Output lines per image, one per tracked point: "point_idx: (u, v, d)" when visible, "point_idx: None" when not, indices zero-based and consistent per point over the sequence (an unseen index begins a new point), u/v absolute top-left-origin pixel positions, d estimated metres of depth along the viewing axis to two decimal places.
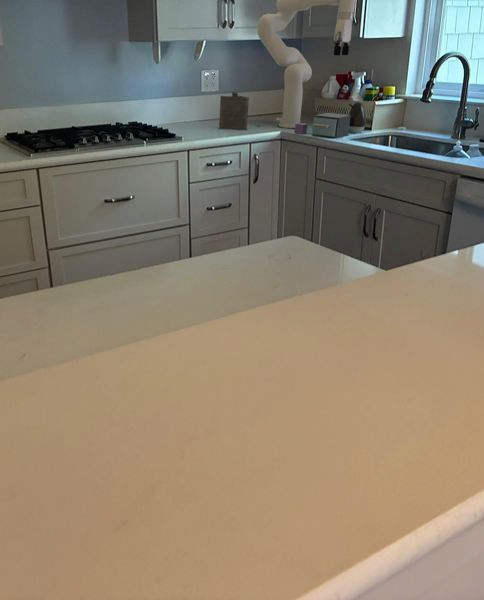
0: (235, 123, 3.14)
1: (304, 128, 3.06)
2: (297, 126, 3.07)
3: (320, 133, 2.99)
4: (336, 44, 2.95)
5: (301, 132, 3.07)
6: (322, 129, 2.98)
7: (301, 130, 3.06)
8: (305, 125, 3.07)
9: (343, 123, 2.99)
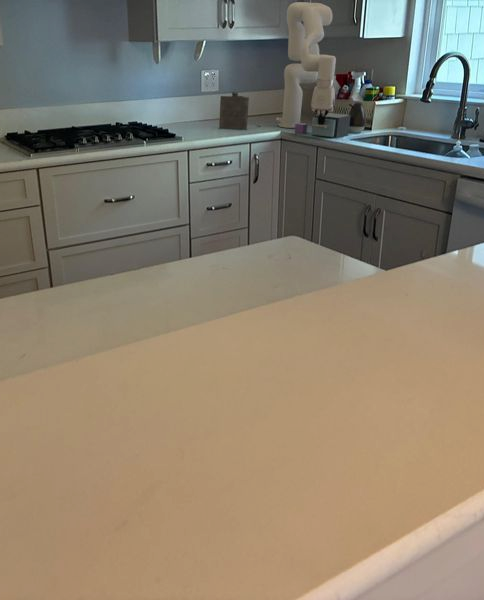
0: (235, 123, 3.14)
1: (304, 128, 3.06)
2: (297, 126, 3.07)
3: (319, 133, 2.98)
4: (326, 114, 2.90)
5: (301, 132, 3.07)
6: (321, 129, 2.97)
7: (301, 130, 3.06)
8: (305, 125, 3.07)
9: (343, 123, 2.99)
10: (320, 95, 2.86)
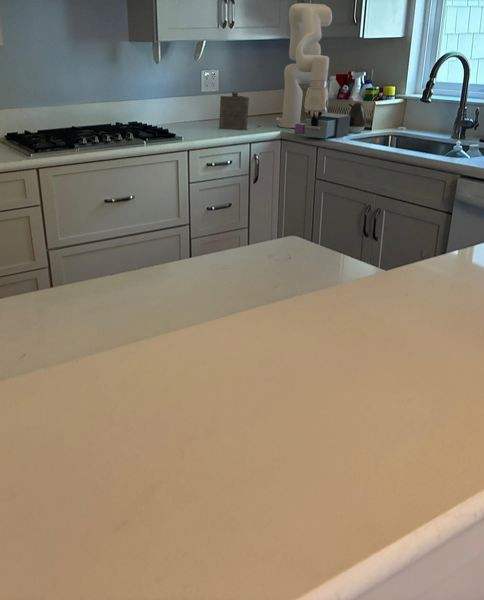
0: (235, 123, 3.14)
1: (304, 128, 3.06)
2: (297, 126, 3.07)
3: (312, 135, 2.92)
4: (319, 115, 2.85)
5: (301, 132, 3.07)
6: (314, 131, 2.91)
7: (301, 130, 3.06)
8: None
9: (343, 123, 2.99)
10: (313, 96, 2.81)
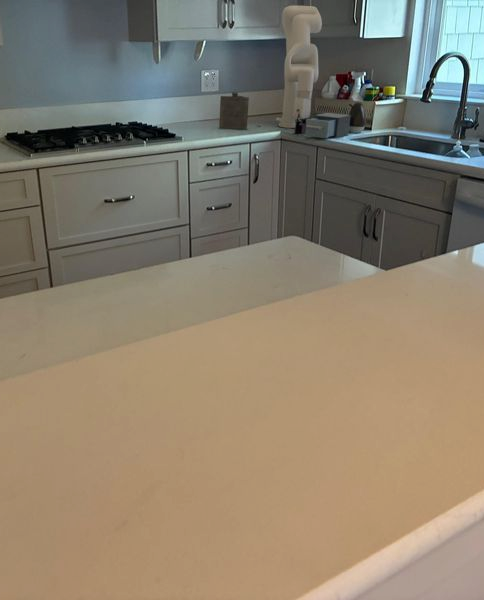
0: (235, 123, 3.14)
1: (304, 128, 3.06)
2: None
3: (313, 135, 2.93)
4: (297, 123, 3.04)
5: (301, 132, 3.07)
6: (315, 131, 2.92)
7: None
8: (305, 125, 3.07)
9: (343, 123, 2.99)
10: None
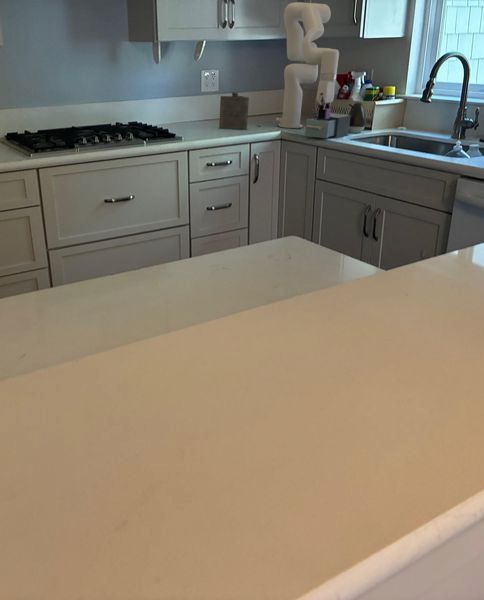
0: (235, 123, 3.14)
1: (327, 113, 2.91)
2: None
3: (313, 135, 2.93)
4: (320, 108, 2.89)
5: None
6: (315, 131, 2.92)
7: None
8: (329, 110, 2.92)
9: (343, 123, 2.99)
10: None
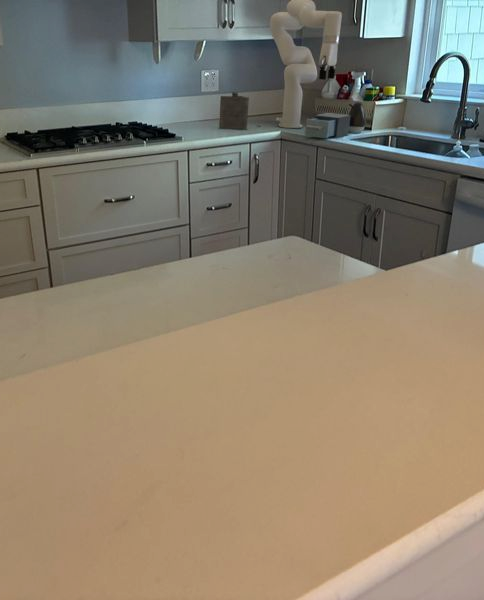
0: (235, 123, 3.14)
1: None
2: None
3: (313, 135, 2.93)
4: (321, 68, 2.88)
5: None
6: (315, 131, 2.92)
7: None
8: None
9: (343, 123, 2.99)
10: None
